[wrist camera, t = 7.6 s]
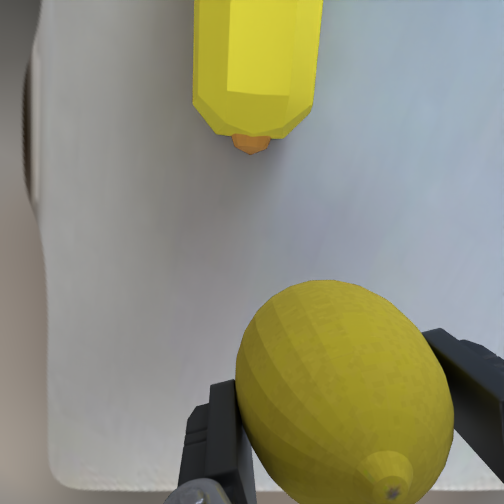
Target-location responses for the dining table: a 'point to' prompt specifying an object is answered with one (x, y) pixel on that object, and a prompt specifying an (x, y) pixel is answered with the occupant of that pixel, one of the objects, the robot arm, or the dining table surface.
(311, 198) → the dining table surface
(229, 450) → the robot arm
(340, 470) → the lemon
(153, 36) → the dining table surface
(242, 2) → the yellow faceted capsule
